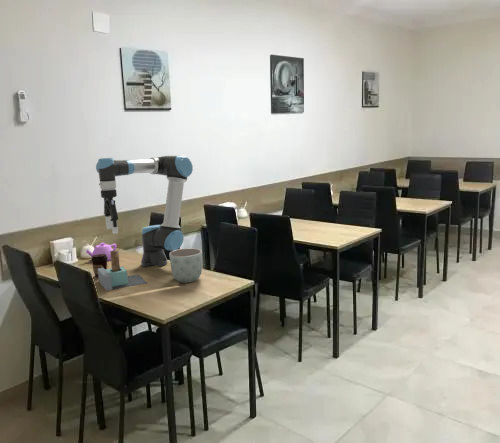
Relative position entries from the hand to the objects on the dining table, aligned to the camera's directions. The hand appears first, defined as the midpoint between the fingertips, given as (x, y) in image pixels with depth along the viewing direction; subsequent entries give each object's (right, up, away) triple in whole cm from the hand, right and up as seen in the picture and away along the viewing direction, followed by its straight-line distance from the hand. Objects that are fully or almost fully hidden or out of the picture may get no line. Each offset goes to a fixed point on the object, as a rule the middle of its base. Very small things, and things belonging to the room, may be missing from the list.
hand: (112, 231), depth 244 cm
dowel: (+1, -24, +5) cm, 24 cm away
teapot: (-22, -19, +58) cm, 65 cm away
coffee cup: (-11, -26, +19) cm, 34 cm away
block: (+1, -27, +5) cm, 27 cm away
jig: (+4, -28, +7) cm, 29 cm away
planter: (+37, -26, +10) cm, 46 cm away
